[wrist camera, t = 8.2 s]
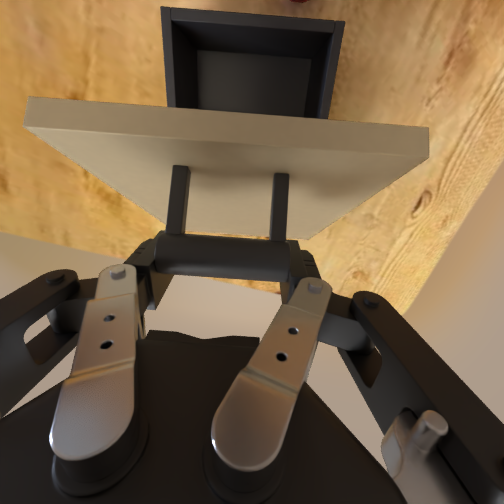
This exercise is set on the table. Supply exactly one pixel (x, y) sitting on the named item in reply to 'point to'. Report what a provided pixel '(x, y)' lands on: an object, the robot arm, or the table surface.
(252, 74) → the dark open storage bin
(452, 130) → the table surface
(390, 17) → the table surface
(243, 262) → the storage bin lid
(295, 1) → the onion
